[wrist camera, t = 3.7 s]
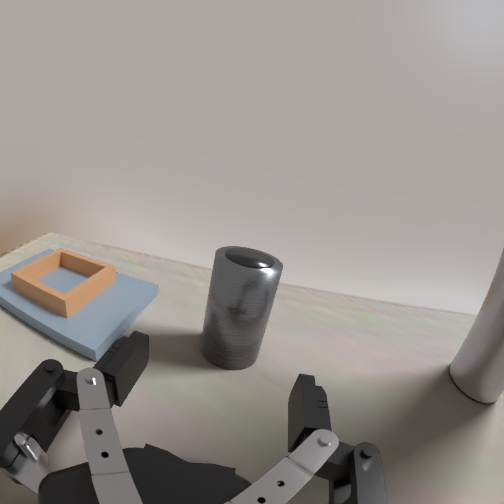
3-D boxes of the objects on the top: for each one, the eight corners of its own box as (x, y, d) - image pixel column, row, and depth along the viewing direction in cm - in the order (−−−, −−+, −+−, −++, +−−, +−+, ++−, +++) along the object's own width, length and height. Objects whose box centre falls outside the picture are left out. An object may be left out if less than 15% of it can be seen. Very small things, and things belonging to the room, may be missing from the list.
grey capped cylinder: (240, 330, 27) (260, 245, 24) (267, 362, 23) (297, 270, 20) (191, 336, 24) (205, 243, 21) (215, 375, 20) (235, 272, 17)
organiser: (157, 294, 30) (159, 270, 29) (96, 361, 17) (92, 332, 17) (50, 256, 30) (49, 236, 30) (-17, 292, 18) (-22, 267, 17)
